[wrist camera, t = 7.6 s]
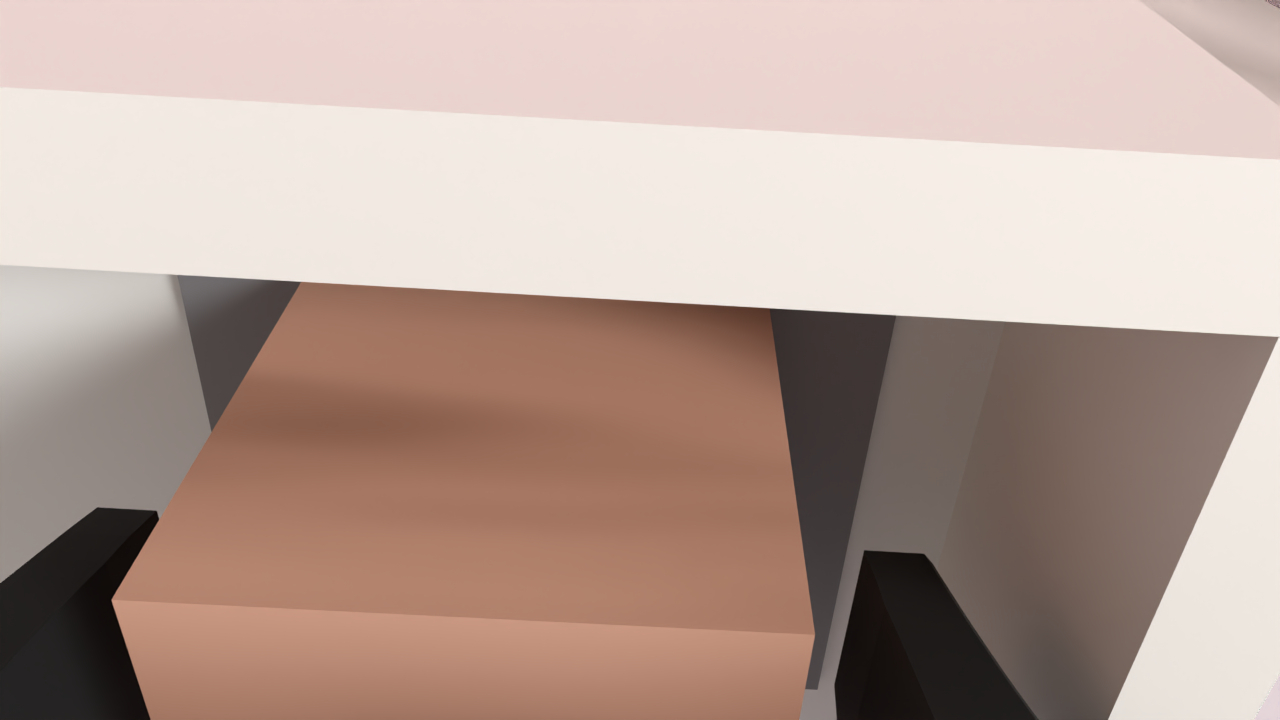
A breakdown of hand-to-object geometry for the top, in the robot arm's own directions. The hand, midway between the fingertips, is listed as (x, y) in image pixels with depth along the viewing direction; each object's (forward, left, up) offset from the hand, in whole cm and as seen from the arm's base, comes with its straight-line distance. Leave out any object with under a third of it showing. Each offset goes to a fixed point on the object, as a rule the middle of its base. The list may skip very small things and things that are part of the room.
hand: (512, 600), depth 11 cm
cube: (0, 0, -2) cm, 2 cm away
